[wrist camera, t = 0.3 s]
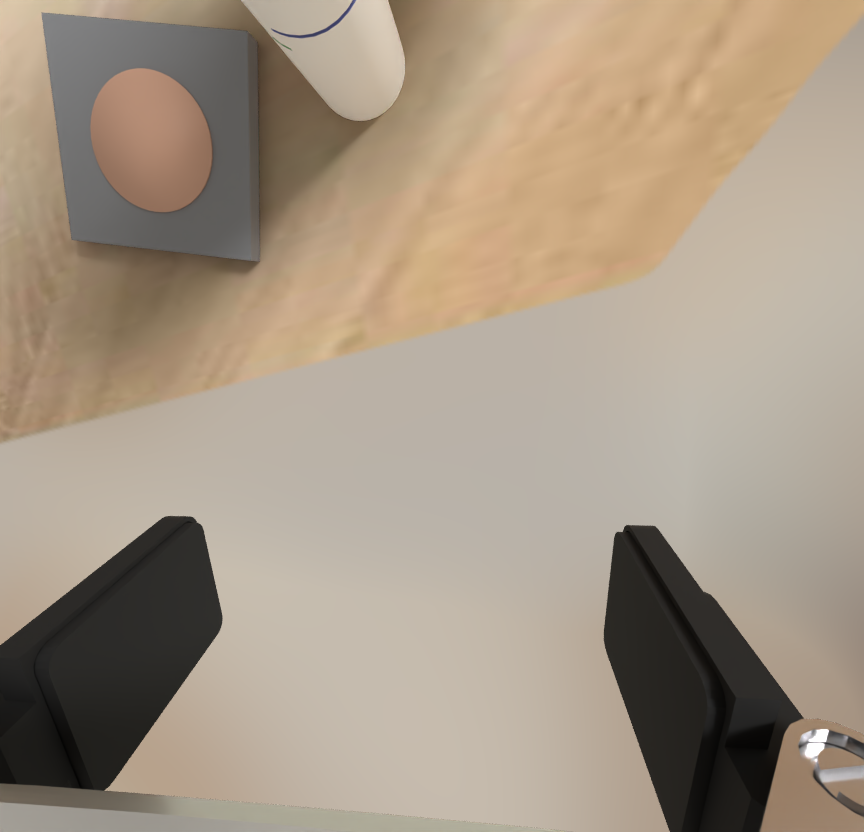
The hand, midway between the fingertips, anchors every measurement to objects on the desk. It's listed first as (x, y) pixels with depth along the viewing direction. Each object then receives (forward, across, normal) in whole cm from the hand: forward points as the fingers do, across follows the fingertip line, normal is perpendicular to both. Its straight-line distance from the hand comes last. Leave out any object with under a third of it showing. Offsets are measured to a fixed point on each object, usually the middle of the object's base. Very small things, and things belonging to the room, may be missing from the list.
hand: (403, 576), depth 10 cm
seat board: (+31, +24, -17) cm, 43 cm away
